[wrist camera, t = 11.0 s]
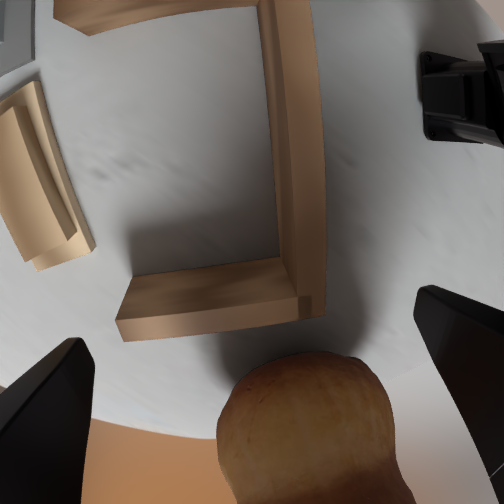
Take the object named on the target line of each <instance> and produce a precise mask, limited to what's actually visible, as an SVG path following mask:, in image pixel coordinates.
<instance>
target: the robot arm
mask: <svg viewBox="0 0 504 504" xmlns="http://www.w3.org/2000/svg"><path fill="white" fill-rule="evenodd" d="M477 46H478V48H479V51H480V52H481V53H482V56H483V59H484V61H466V60H462V59H459V58H455V57H451V56H447V55H442V54H438V53H433V52H429V51H427V52H422V53H421V56H420V58H421V69H422V84H423V100H424V121H425V136H426V138H427V139H428V140H432V141H450V142H467V143H480V144H483V143H486V144H490V145H493V146H497V147H500V148H504V40H497V41H490V42H484V43H478V44H477ZM426 56H427V57H428V58H429V61H428V60H427V58H426ZM431 131H432V132H433V134H432V136H431ZM413 316H414V320H415V322H416V325H417V327H418V329H419V331H420V333H421V336H422V338H423V340H424V342H425V344H426V347H427V349H428V351H429V354H430V356H431V358H432V360H433V362H434V364H435V366H436V368H437V370H438V372H439V374H440V375H441V377H442V379H443V381H444V383H445V385H446V386H447V389H448V390H449V392H450V394H451V396H452V398H453V400H454V402H455V404H456V406H457V408H458V410H459V412H460V414H461V416H462V418H463V420H464V422H465V424H466V426H467V428H468V430H469V432H470V435H471V437H472V439H473V441H474V443H475V445H476V448H477V450H478V452H479V454H480V457H481V459H482V461H483V463H484V466H485V468H486V471H487V473H488V476H489V477H490V481H491V483H492V486H493V489H494V491H495V494H496V496H497V499H498V502H499V504H504V311H501V310H499V309H496V308H493V307H491V306H488V305H486V304H483V303H480V302H478V301H475V300H473V299H470V298H467V297H465V296H462V295H459V294H457V293H454V292H451V291H449V290H446V289H443V288H440V287H438V286H435V285H427V286H423V287H420V288H419V290H418V292H417V297H416V302H415V307H414V312H413ZM94 375H95V363H94V360H93V358H92V356H91V354H90V352H89V350H88V348H87V346H86V344H85V342H84V340H83V339H82V338H80V337H75V338H67V339H66V340H65V341H63V342H62V343H61V344H60V345H58V346H57V347H56V348H55V349H53V350H52V351H51V352H50V353H48V354H47V355H46V356H45V357H44V358H42V359H41V360H40V361H39V362H37V363H36V364H35V365H34V366H33V367H31V368H30V369H29V370H28V371H27V372H25V373H24V374H23V375H22V376H21V377H19V378H18V379H17V380H16V381H15V382H14V383H12V384H11V385H10V386H9V387H8V388H7V389H5V390H4V391H3V392H2V393H1V394H0V504H81V494H82V483H83V473H84V464H85V456H86V448H87V440H88V434H89V428H90V421H91V413H92V399H93V386H94Z"/></svg>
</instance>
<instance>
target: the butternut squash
mask: <svg viewBox="0 0 504 504" xmlns="http://www.w3.org/2000/svg"><path fill="white" fill-rule="evenodd" d="M216 438H217V448H218V460H219V464H220V467H221V471H222V473H223V475H224V477H225V479H226V481H227V482H228V484H229V486H230V488H231V490H232V492H233V494H234V496H235V498H236V500H237V504H416V502H415V499H414V497H413V494H412V492H411V490H410V489H409V487H408V486H407V485H406V483H405V481H404V480H403V478H402V475H401V473H400V470H399V467H398V464H397V460H396V454H395V425H394V418H393V412H392V408H391V403H390V400H389V397H388V395H387V393H386V391H385V389H384V387H383V385H382V384H381V382H380V380H379V379H378V377H377V376H376V375H375V374H374V373H373V372H372V371H371V369H370V368H369V367H368V366H367V364H365V363H364V362H363V361H362V360H361V359H358V358H356V357H350V356H349V357H344V356H341V355H338V354H333V353H331V352H305V353H300V354H296V355H291V356H286V357H283V358H280V359H277V360H274V361H271V362H268V363H266V364H264V365H262V366H260V367H258V368H256V369H254V370H252V371H251V372H249V373H248V374H247V375H246V376H244V377H243V378H242V379H241V380H240V382H239V383H238V384H237V385H236V386H235V387H234V388H233V390H232V393H231V395H230V397H229V399H228V401H227V403H226V405H225V406H224V408H223V410H222V412H221V415H220V417H219V419H218V422H217V429H216Z"/></svg>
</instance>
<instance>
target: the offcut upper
mask: <svg viewBox="0 0 504 504" xmlns="http://www.w3.org/2000/svg"><path fill="white" fill-rule="evenodd" d="M0 213H1V215H2V218H3V220H4V222H5V224H6V226H7V228H8V230H9V232H10V234H11V236H12V238H13V240H14V242H15V244H16V246H17V248H18V250H19V252H20V254H21V256H22V257H23V259H24V261H25V262H27V261H29V260H31V259H33V258H35V257H37V256H39V255H41V254H43V253H45V252H47V251H49V250H51V249H53V248H55V247H57V246H59V245H61V244H63V243H65V242H67V241H68V240H69V239H70V238H71V237H72V236H73V235H74V234H75V233H76V232H77V230H76V228H75V226H74V224H73V222H72V220H71V217H70V215H69V213H68V211H67V209H66V207H65V205H64V202H63V200H62V198H61V196H60V194H59V191H58V189H57V187H56V184H55V182H54V180H53V177H52V175H51V172H50V170H49V168H48V165H47V163H46V160H45V157H44V155H43V152H42V150H41V147H40V144H39V142H38V139H37V136H36V133H35V130H34V127H33V125H32V122H31V119H30V116H29V112H28V109H27V106H14V107H11V108H10V109H9V110H8V111H6V112H5V113H4V114H3V115H1V116H0Z"/></svg>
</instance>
